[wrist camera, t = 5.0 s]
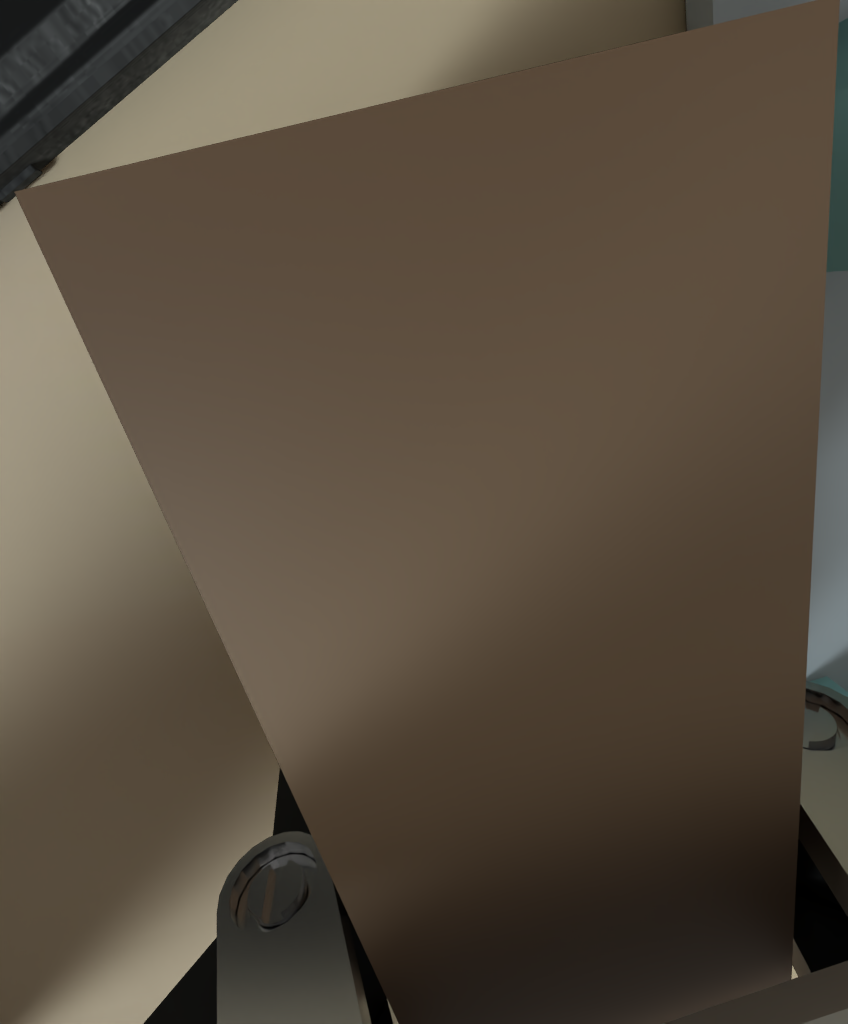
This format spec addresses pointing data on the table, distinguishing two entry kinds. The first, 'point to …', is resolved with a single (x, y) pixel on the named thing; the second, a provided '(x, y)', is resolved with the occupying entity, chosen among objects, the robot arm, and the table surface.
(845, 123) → the rail
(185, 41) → the phone
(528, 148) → the brown wooden block
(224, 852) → the table surface
